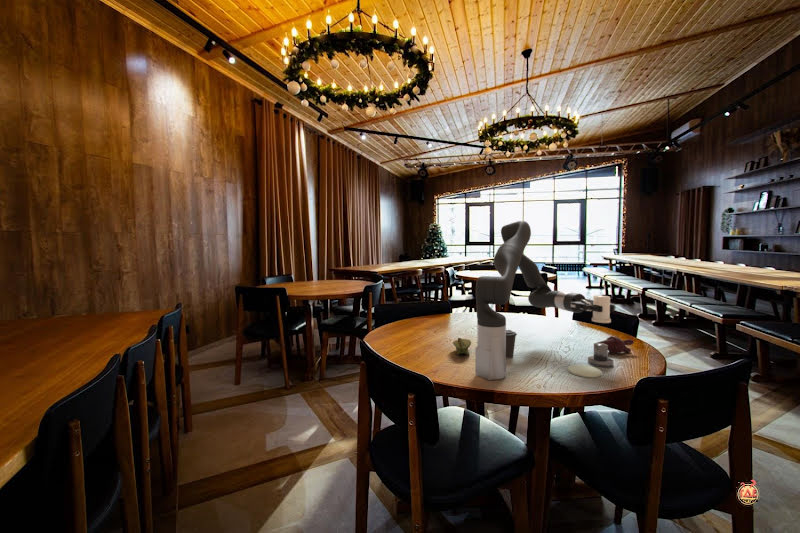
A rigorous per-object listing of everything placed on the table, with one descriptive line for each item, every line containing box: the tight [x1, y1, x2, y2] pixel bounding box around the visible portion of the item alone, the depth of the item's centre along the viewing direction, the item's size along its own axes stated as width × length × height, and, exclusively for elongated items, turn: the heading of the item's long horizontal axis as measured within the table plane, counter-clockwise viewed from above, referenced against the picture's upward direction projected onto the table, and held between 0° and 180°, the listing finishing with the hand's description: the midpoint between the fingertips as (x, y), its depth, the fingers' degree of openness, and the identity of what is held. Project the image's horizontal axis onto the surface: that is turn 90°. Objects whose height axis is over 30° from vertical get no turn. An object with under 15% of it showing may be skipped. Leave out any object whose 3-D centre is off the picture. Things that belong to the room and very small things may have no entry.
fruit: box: [452, 337, 472, 356], centre depth 138 cm, size 11×12×7 cm
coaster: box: [567, 364, 602, 379], centre depth 117 cm, size 10×10×1 cm
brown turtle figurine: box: [596, 335, 635, 355], centre depth 136 cm, size 7×7×15 cm
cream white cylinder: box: [591, 295, 612, 324], centre depth 124 cm, size 6×6×9 cm
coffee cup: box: [506, 329, 518, 359], centre depth 135 cm, size 8×8×10 cm
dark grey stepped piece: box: [587, 342, 614, 368], centre depth 125 cm, size 8×8×7 cm
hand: (607, 308), depth 121 cm, fingers closed on cream white cylinder, 5 cm apart
